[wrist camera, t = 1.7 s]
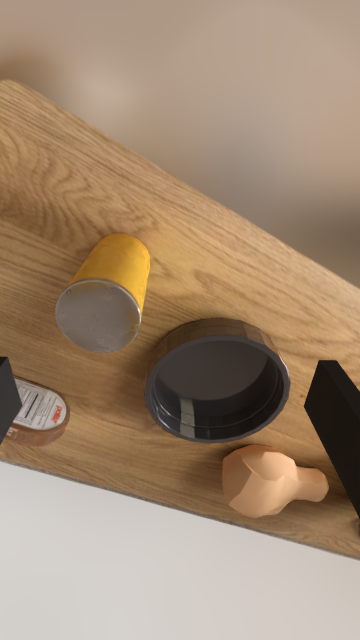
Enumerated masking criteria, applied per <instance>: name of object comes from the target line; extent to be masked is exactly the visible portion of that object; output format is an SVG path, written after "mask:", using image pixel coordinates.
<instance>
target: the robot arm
mask: <svg viewBox="0 0 360 640" xmlns="http://www.w3.org/2000/svg"><path fill="white" fill-rule="evenodd" d="M21 407H22V402H21V398H20V395H19V392H18V389H17V385H16V382H15V379H14V376H13V373H12V369H11V366H10V363H9V360H8V357H0V444H1V443H2V441H3V439H4V437H5V435H6V434H7V432H8V430H9V428H10V427H11V425H12V423H13V421H14V419H15V418H16V416H17V414H18V412H19V410H20V409H21ZM304 408H305V410H306V412H307V414H308V416H309V418H310V420H311V422H312V424H313V426H314V428H315V430H316V432H317V434H318V436H319V438H320V440H321V442H322V444H323V446H324V448H325V450H326V452H327V454H328V456H329V458H330V460H331V462H332V464H333V466H334V468H335V470H336V472H337V474H338V476H339V478H340V480H341V482H342V484H343V486H344V488H345V490H346V492H347V494H348V496H349V498H350V500H351V502H352V504H353V506H354V508H355V510H356V512H357V514H358V516H359V518H360V391H359V390H358V389H357V387H356V386H355V385H354V383H353V382H352V381H351V379H350V378H349V377H348V375H347V374H346V373H345V371H344V370H343V369H342V367H341V366H340V365H339V363H338V362H337V361H336V360H319V362H318V365H317V368H316V371H315V374H314V377H313V380H312V383H311V386H310V389H309V392H308V395H307V398H306V401H305V404H304Z"/></svg>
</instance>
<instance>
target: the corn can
mask: <svg viewBox="0 0 360 640" xmlns="http://www.w3.org/2000/svg"><path fill="white" fill-rule="evenodd" d="M149 268H150V257H149V254H148V251H147V249H146V248H145V246H144V245H143V244H142V243H141V242H140V241H139V240H138V239H137V238H135V237H133V236H131V235H128V234H124V233H114V234H110V235H108V236H105V237H104V238H102V239H101V240H100V241H99V242H98V244H97V245H96V246H95V248H94V249H93V251H92V252H91V253H90V255H89V256H88V258H87V259H86V261H85V262H84V263H83V265H82V266H81V268H80V269H79V270H78V272H77V273H76V275H75V276H74V278H73V279H72V280H71V282H70V283H69V285H68V286H67V287H66V288H65V290H64V291H63V292H62V293H61V295H60V297H59V298H58V301H57V303H56V308H55V315H56V320H57V324H58V326H59V328H60V330H61V331H62V333H63V334H64V335H65V337H66V338H67V339H68V340H70V341H71V342H72V343H73V344H75V345H76V346H78V347H80V348H82V349H85V350H88V351H91V352H98V353H108V352H114V351H117V350H120V349H122V348H124V347H126V346H127V345H129V344H130V343H131V342H132V341H133V340H134V339H135V337H136V336H137V334H138V332H139V329H140V325H141V315H142V310H143V304H144V298H145V292H146V286H147V280H148V274H149Z"/></svg>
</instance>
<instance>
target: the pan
mask: <svg viewBox="0 0 360 640" xmlns="http://www.w3.org/2000/svg"><path fill="white" fill-rule="evenodd" d="M289 390H290V378H289V373H288V369H287V367H286V365H285V363H284V361H283V359H282V357H281V355H280V353H279V351H278V349H277V348H276V346H275V345H274V343H273V342H272V340H271V338H270V337H268V336H267V335H266V334H265V333H264V332H262V331H261V330H260V329H259V328H257V327H255V326H252V325H250V324H248V323H245V322H243V321H240V320H234V319H227V318H210V319H203V320H202V319H201V320H198V321H195V322H192V323H188V324H185V325H183V326H181V327H179V328H178V329H176V330H174V331H173V332H171V333H169V334H168V335H167V336H166V337H165V338H164V339H163V340H162V341H161V342H160V343H159V344H158V345H157V346H156V347H155V349H154V351H153V353H152V354H151V356H150V358H149V360H148V366H147V371H146V379H145V389H144V397H145V402H146V407H147V409H148V411H149V413H150V414H151V416H152V418H153V419H154V421H155V422H156V423H157V424H159V425H160V426H161V427H162V428H163V429H164V430H165V431H167V432H169V433H171V434H173V435H174V436H176V437H179V438H182V439H185V440H188V441H192V442H199V443H224V442H230V441H234V440H238V439H243V438H245V437H247V436H249V435H252V434H254V433H256V432H258V431H260V430H261V429H263V428H264V427H265V426H267V425H268V424H270V423H271V422H272V421H273V420H274V419H275V418H276V417H277V416H278V414H279V413H280V412H281V411H282V409H283V407H284V405H285V403H286V401H287V399H288V397H289Z"/></svg>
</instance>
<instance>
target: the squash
mask: <svg viewBox="0 0 360 640" xmlns="http://www.w3.org/2000/svg"><path fill="white" fill-rule="evenodd" d="M222 487H223V491H224V494H225V497H226V500H227V504H228V505H229V506H231V507H232V508H234V509H235V510H237V511H238V512H240V513H241V514H244V515H247V516H250V517H253V518H256V517H260V516H263V515H274V514H277V513H279V512H280V511H281V510H282V509H283V508H284V507H285V506H286V504H287V503H288V502H290V501H292V500H294V499H297V500H309V501H313V502H319V501H321V500H322V499H323V498H324V496H325V495H326V493H327V491H328V489H329V486H328V483H327V479H326V477H325V475H324V474H323V473H322V472H321V471H320V470H318V469H316V468H303V467H297V466H296V465H295V463H294V460H292V459H290V458H289V457H287V456H285V455H283V454H281V453H280V452H278V451H277V450H275V449H274V448H272V447H270V446H263V445H256V444H252V445H249V446H246V447H243V448H241V449H238V450H235V451H233V452H232V453H230V454H229V455H228V456H226V457H225V458H224V459H223V481H222Z"/></svg>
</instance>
